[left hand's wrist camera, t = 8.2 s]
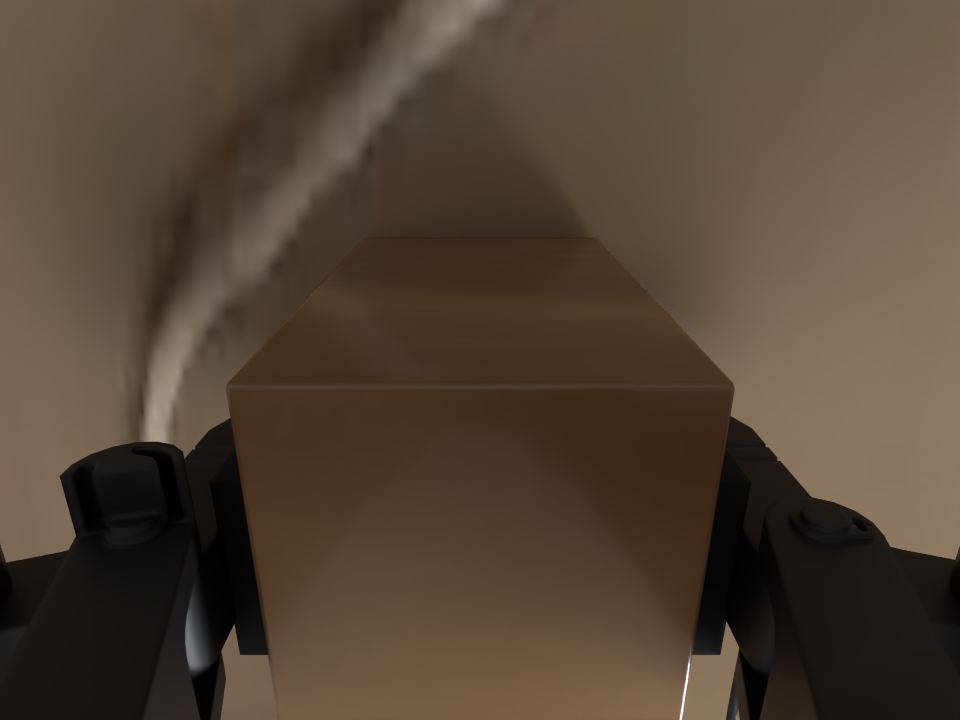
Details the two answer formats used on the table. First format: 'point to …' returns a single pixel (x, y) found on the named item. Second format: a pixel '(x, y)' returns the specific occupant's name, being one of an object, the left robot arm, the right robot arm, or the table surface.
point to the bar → (480, 486)
